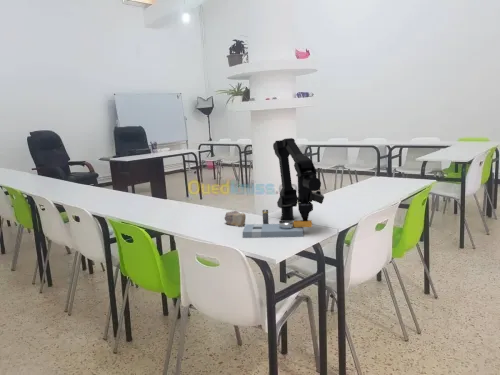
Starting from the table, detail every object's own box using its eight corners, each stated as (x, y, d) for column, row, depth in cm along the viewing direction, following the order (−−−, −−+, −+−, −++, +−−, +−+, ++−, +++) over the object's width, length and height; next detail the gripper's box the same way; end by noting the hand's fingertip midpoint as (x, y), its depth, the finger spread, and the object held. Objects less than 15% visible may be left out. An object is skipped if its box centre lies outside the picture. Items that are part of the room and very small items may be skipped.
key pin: (263, 226, 185) (262, 209, 183) (268, 225, 184) (268, 209, 183) (262, 227, 182) (262, 211, 181) (268, 227, 182) (267, 210, 180)
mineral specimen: (251, 223, 190) (251, 211, 189) (243, 227, 184) (242, 214, 183) (231, 220, 197) (230, 208, 196) (222, 224, 192) (221, 212, 190)
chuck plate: (246, 229, 180) (245, 224, 180) (302, 228, 177) (302, 223, 177) (242, 237, 169) (242, 232, 168) (303, 236, 166) (303, 231, 165)
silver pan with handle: (280, 224, 175) (279, 219, 175) (311, 224, 173) (311, 218, 173) (279, 228, 169) (278, 223, 169) (311, 228, 167) (311, 222, 167)
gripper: (324, 190, 163) (325, 226, 166) (321, 182, 182) (321, 215, 184) (297, 191, 164) (299, 227, 167) (297, 183, 183) (298, 215, 186)
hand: (305, 221), depth 176 cm, fingers open, 7 cm apart
